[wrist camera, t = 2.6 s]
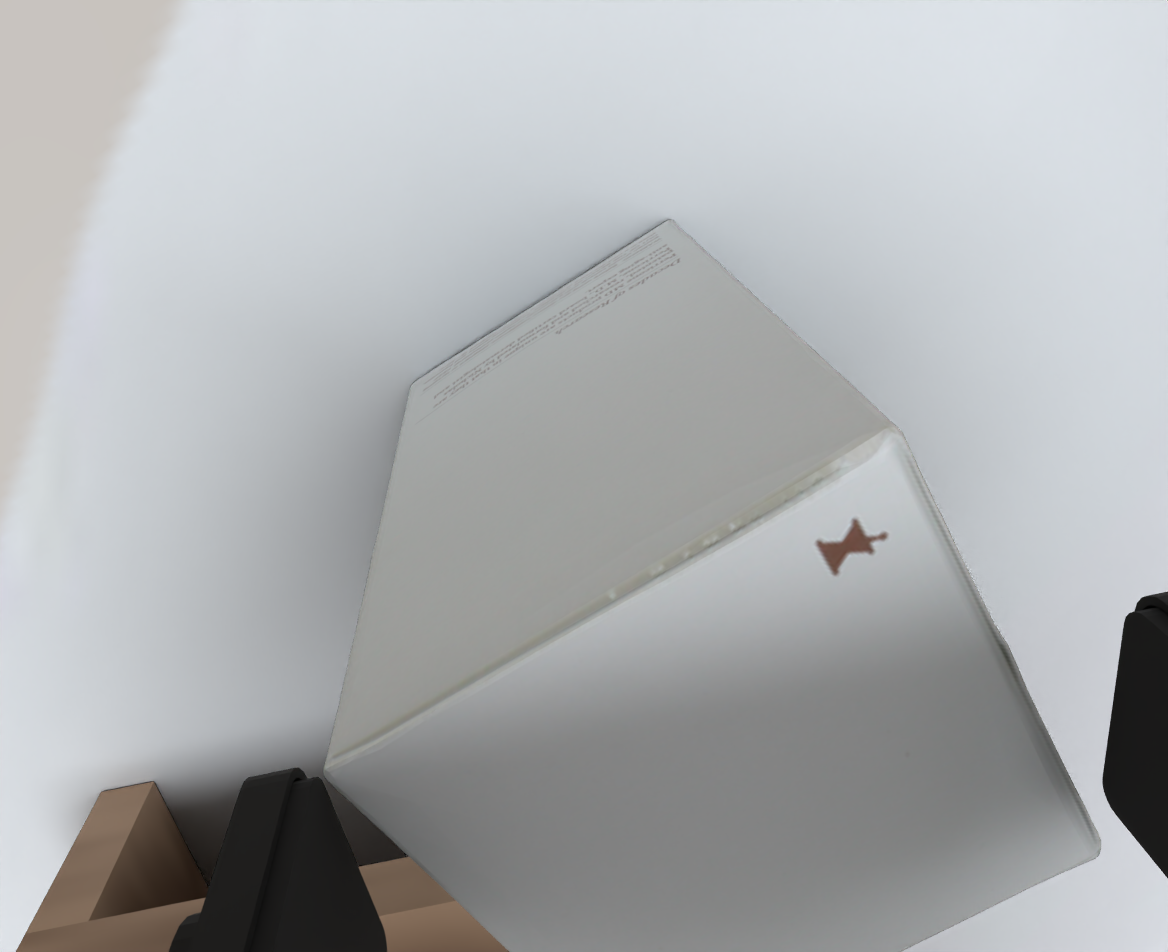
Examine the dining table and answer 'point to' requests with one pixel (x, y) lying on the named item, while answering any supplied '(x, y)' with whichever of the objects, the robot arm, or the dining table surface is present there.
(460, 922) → the walnut shelf
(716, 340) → the supplement box
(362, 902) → the robot arm
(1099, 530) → the dining table surface
